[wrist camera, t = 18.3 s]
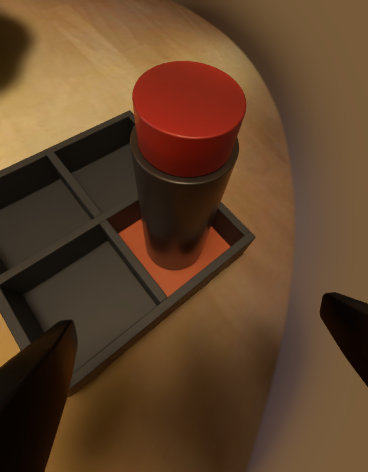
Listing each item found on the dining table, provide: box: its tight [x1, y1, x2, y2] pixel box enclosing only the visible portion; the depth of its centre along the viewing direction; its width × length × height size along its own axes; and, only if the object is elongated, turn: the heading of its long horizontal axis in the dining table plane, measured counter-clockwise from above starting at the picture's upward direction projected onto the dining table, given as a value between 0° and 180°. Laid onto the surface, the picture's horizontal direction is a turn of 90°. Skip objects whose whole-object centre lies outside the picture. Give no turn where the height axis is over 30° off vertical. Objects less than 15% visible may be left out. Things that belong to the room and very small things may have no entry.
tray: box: [0, 110, 255, 398], centre depth 19 cm, size 16×16×4 cm
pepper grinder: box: [130, 61, 246, 270], centre depth 15 cm, size 5×5×13 cm
